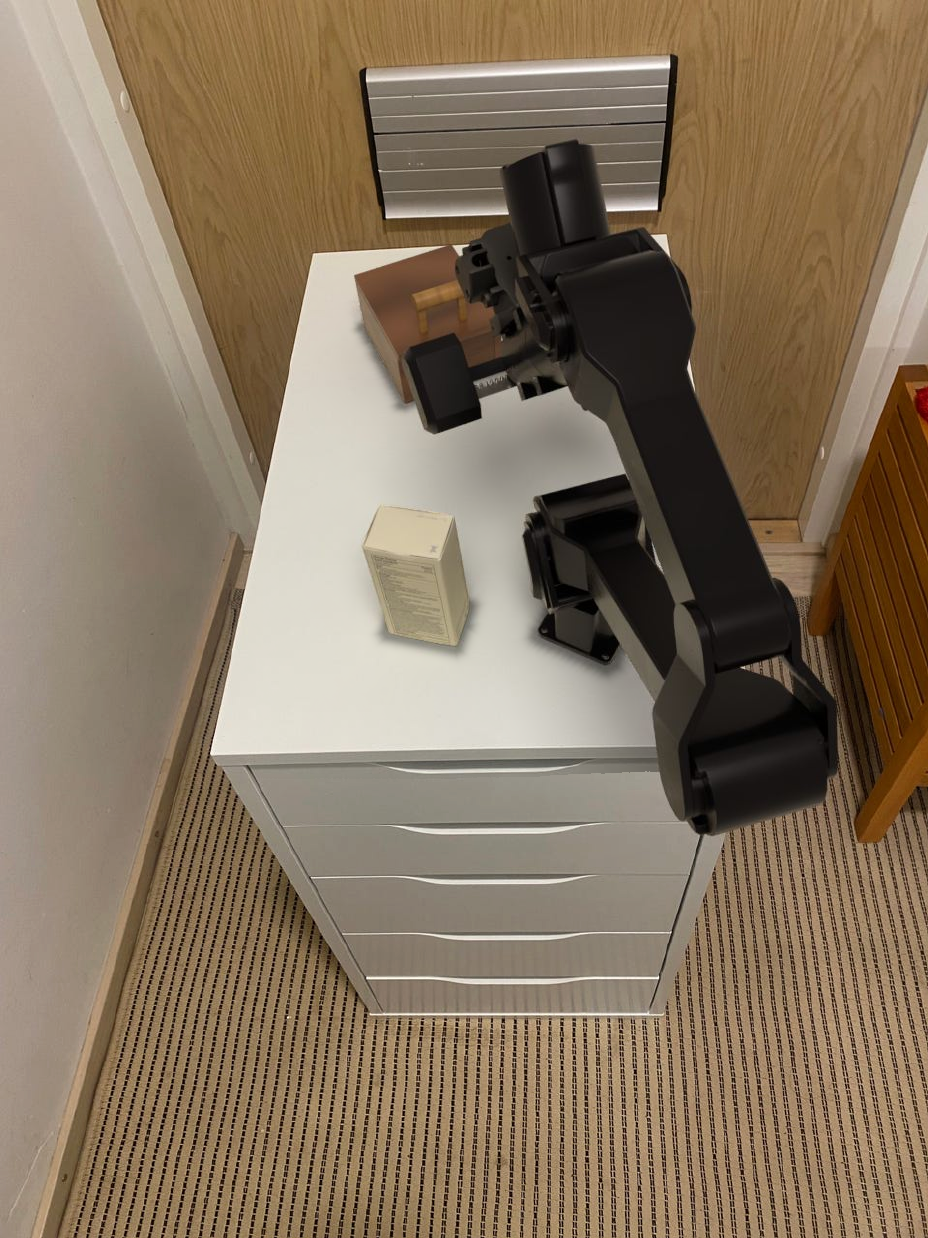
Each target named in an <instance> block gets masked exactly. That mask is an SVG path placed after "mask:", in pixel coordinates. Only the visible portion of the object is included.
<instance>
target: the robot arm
mask: <svg viewBox="0 0 928 1238" xmlns="http://www.w3.org/2000/svg"><path fill="white" fill-rule="evenodd" d="M499 176H500V181H501V186H502V189H503V195H504V199H505V203H506V209H507V213H508V217H509V222H508V223H505V224H502V225H498V226H495V227H491V228H489V229H487V230H486V231H484V232H483V233H482V235H481V237H479V238H475V239H473V240H470V241H469V243H468V245H467V246H463V247H462V248H461V253H462V255H459V257H457V259H456V262H455V274H456V278H457V280H458V282H459V285H460V287H461V289H462V292H463V294H464V297H465V299H466V301H467V302H468V303H470V304H473V303H476V302H482V303H483V304H484V306H485V308H490V307H493V310H494V314H495V316H493V317H492V318H490V319H489V321H490V324H491V328H492V331H493V334H494V336H495V337H498V336H501V347H500V354H501V357H499V358H496V359H493V360H490V361H487V362H484V363H481V364H478V365H475V366H472V367H468V364H467V360H466V357H465V354H464V351H463V348H462V345H461V343H460V341H459V339H458V338H457V336H456V335H455V333H451V334H448V335H445V336H442V337H439V338H435V339H432V340H429V341H426V342H423V343H420V344H417V345H414V346H411V347H409V348H408V349H407V350H406V351H405V353H404V355H403V357H402V359H401V363H402V366H403V369H404V372H405V375H406V378H407V381H408V384H409V387H410V389H411V392H412V395H413V398H414V401H413V402H414V405H415V407H416V410H417V414H418V417H419V419H420V422H421V425H422V428H423V430H424V431H426V432H428V433H429V434H431V435H438V434H441V433H444V432H446V431H450V430H452V429H455V428H458V427H461V426H465V425H467V424H470V423H473V422H476V421H479V420H481V419H483V414H482V404H481V399H484V398H487V397H489V396H493V395H495V394H498V393H502V392H504V391H507V390H510V389H513V388H515V387H517V391H518V394H519V397H520V400H521V402H523V401H527V400H531V399H533V398H535V397H540V396H541V397H542V396H544V395H547V394H549V393H552V392H556V391H558V390H561V389H564V388H567V387H568V390H569V392H570V394H571V397H572V399H573V401H574V402H575V403H577V404H578V405H579V406H580V408H581V409H582V411H584V412H590V413H591V414H592V415H594V416H595V417H597V418H598V419H600V420H601V421H602V422H604V423H605V424H606V426H607V428H608V431H609V433H610V435H611V437H612V440H613V442H614V445H615V447H616V450H617V452H618V455H619V458H620V460H621V463H622V466H623V469H624V472H625V473H622V474H617V475H613V476H610V477H605V478H601V479H599V480H598V479H597V480H593V481H589V482H586V483H582V484H578V485H575V486H570V487H566V488H563V489H559V490H555V491H551V492H550V491H549V492H547V493H543V494H539V495H535V496H534V497H533V498H532V504H533V508H534V509H535V511H534V512H529V513H526V514H525V515H524V517H525V518H524V520H525V521H523V527H524V532H523V533H522V535H521V540H522V544H523V549H524V554H525V559H526V565H527V569H528V572H529V580H530V592H531V595H532V597H533V598H534V599H537V600H540V601H541V602H542V603H543V604H544V606H545V608H546V610H547V611H548V612H547V614H546V615H545V617H544V619H543V620H542V622H541V623H540V624H539V627H538V629H537V634H538V636H539V637H540V638H541V639H544V640H546V641H549V642H551V643H553V644H556V645H558V646H559V647H563V648H565V649H568V650H569V651H572V652H574V653H576V654H578V655H581V656H582V657H585V658H588V659H590V660H593V661H594V662H597V663H598V664H599V663H600V664H601V665H605V666H606V665H609V664H611V663H612V661H613V659H614V658H615V656H616V654H617V653H618V651H619V648H620V647H622V649H623V651H624V653H625V654H626V656H627V658H628V659H629V661H630V663H631V665H632V666H633V668H634V669H635V672H636V673H637V675H638V677H639V678H640V680H641V681H642V683H643V684H644V686H645V688H646V689H647V692H648V693H649V695H650V696H651V698H652V700H653V701H654V704H653V706H652V711H651V716H652V723H653V724H652V725H653V733H654V739H655V748H656V754H657V763H658V771H659V775H660V776H659V777H660V781H661V785H662V788H663V791H664V795H665V797H666V799H667V802H668V804H669V808H670V809H671V811H672V812H673V814H674V816H675V817H676V818H677V820H678V821H680V822H687V824H688V825H689V827H690V828H691V830H692V831H693V832H694V833H695V834H697V835H698V836H704V835H707V836H709V837H714V836H719V835H722V834H725V833H729V832H733V831H736V830H739V829H742V828H746V827H749V826H753V825H757V824H760V823H763V822H766V821H770V820H774V819H777V818H781V817H784V816H787V815H791V814H795V813H797V812H801V811H805V810H808V809H811V808H814V807H818V806H820V805H822V804H823V803H824V802H825V801H826V797H827V793H828V780H833V779H834V778H835V777H836V776H837V775H838V771H839V770H838V769H839V739H838V738H839V737H838V736H839V735H838V705H837V702H836V698H834V696H833V695H832V694H831V692H830V691H829V690H828V689H827V688H826V686H825V685H824V684H823V683H822V682H821V680H820V679H819V678H818V677H817V675H816V674H815V673H814V672H813V671H812V669H811V668H810V667H809V665H808V664H807V663H806V662H805V661H804V659H803V645H802V642H803V641H802V626H801V618H800V612H799V610H798V606H797V604H796V601H795V598H794V596H793V595H792V593H791V591H790V589H789V586H787V585H786V584H785V583H784V582H783V580H782V579H779V578H777V577H772V573H771V571H770V570H769V566H768V564H767V562H766V559H765V557H764V555H763V552H762V550H761V547H760V545H759V543H758V541H757V537H756V535H755V533H754V531H753V528H752V526H751V523H750V521H749V518H748V516H747V514H746V511H745V509H744V506H743V504H742V501H741V499H740V496H739V494H738V492H737V490H736V487H735V485H734V482H733V480H732V478H731V476H730V472H729V470H728V468H727V465H726V463H725V461H724V458H723V456H722V453H721V452H720V451H721V450H720V448H719V446H718V444H717V441H716V439H715V436H714V434H713V431H712V429H711V427H710V425H709V422H708V420H707V417H706V414H705V413H704V410H703V407H702V405H701V402H700V400H699V397H698V395H697V393H696V391H695V387H694V385H693V382H692V381H693V380H692V379H691V376H690V374H689V370H688V367H689V363H690V358H691V354H692V350H693V346H694V340H695V337H696V331H697V327H696V322H695V319H694V317H693V304H692V296H691V291H690V287H689V283H688V281H687V277H686V276H685V273H683V271H682V269H681V268H680V267H679V266H678V265H677V264H676V262H675V261H674V260H673V259H672V258H671V256H670V255H669V254H668V253H667V251H665V250H664V249H663V247H662V246H661V245H660V244H659V242H657V240H656V239H655V238H654V237H653V235H651V233H650V232H649V231H648V230H647V228H646V227H645V226H641V227H636V228H632V229H628V230H627V229H626V230H624V231H623V230H622V231H619V232H615V233H612V231H611V225H610V220H609V217H608V216H609V215H608V211H607V207H606V201H605V196H604V191H603V187H602V186H603V185H602V182H601V181H602V180H601V176H600V171H599V166H598V161H597V156H596V152H595V147H594V145H591V144H588V143H580V142H579V140H578V139H577V138H574V139H570V140H566V141H561V142H557V143H552V144H548V145H544V147H543V149H542V150H541V151H539V152H536V153H533V154H530V155H528V156H525V157H523V158H521V159H518V160H517V161H515V162H512V163H509V164H508V163H507V164H505V165H503V166H501V167H500V169H499ZM504 372H505V373H506V374H504V376H503V375H500V376H499V378H498V377H495V378H494V380H493V379H490V380H489V382H488V380H485V379H487V378H489V377H492V376H495V375H498V374H501V373H504ZM483 379H484V380H485V381H484V383H483V382H480V383H479V385H478V384H475V382H478V381H481V380H483ZM655 554H656V557H657V559H658V562H659V565H660V567H659V565H658V564H657V561H656V557H655ZM543 631H546V632H543ZM605 657H606V658H607V659H606V658H605ZM777 658H778V659H779V660H780V661H781V662H782V664H783V665H784V666H785V667H786V668H787V669H788V670H789V672H790V673H791V677H792V692H791V690H789V689H788V688H787V687H786V686H785V685H784V684H783V682H781V681H780V680H778V679H776V678H774V677H771V676H767V675H765V674H762V673H758V672H755V671H752V670H749V669H746V668H743V667H747V666H751V665H754V664H758V663H761V662H765V661H768V660H769V661H770V660H772V659H777Z"/></svg>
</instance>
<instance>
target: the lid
mask: <svg viewBox="0 0 928 1238" xmlns="http://www.w3.org/2000/svg"><path fill="white" fill-rule="evenodd" d="M459 256H460V255H459V253H458V252H457V250H456V248H455V247H454V246H453V244H452V243H451V244H448V245H445V246H441V247H438V248H435V249H432V250H428V251H425V252H421V253H419V254H416V255H413V256H411V257H407V258H403V259H400V260H397V261H394V262H390V263H387V264H385V265H382V266H379V267H375V268H372V269H369V270H366V271H363V272H359V273H355V274H354V275H353V279H354V282H355V285H356V284H357V286H358V288H359V290H360V291H361V293H362V295H363V297H364V299H365V300H366V302H367V304H368V306H369V308H370V309H371V311H372V313H373V315H374V317H375V318H376V320H377V322H378V324H379V326H380V328H381V329H382V331H383V333H384V335H385V337H386V338H387V340H388V342H389V344H390V346H391V347H392V349H393V351H394V353H395V355H396V357H397V358H398V360H399V362H400V361H401V359H402V357H403V355H404V353H405V351H406V350H407V349H408V348H409V347H411V346H414V345H417V344H420V343H423V342H426V341H429V340H432V339H435V338H439V337H442V336H445V335H448V334H451V333H455V335H456V336H457V338H458V339H459V341H463V340H466V339H469V338H472V337H475V336H478V335H481V334H484V333H487V332H490V331H492V328H491V324H490V321H489V319H490V318H492V317H493V316H495V314H494V310H493V307H490V308H485V306H484V304H483V303H482V302H476V303H473V304H470V303H468V302H467V301H466V299H465V297H464V294H463V292H462V289H461V287H460V285H459V282H458V280H457V278H456V274H455V262H456V259H457V257H459Z"/></svg>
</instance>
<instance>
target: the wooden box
mask: <svg viewBox="0 0 928 1238" xmlns="http://www.w3.org/2000/svg"><path fill="white" fill-rule="evenodd" d="M355 287H356V293H357V298H358V303H359V308H360V313H361V319H362V323H363V327H364V330H365V332H366V334H367V335H368V337H369V340H370V341H371V343H372V345H373V346H374V348H375V351H376V352H377V354H378V356H379V358H380V360H381V361H382V363H383V365H384V367H385V369H386V371H387V372H388V374H389V377H390V378H391V379H392V382H393V384H394V386H395V388H396V390H397V391H398V393H399V395H400V397H401V399H402V401H403V403H404V404H408V403H411V402H415V401H414V398H413V395H412V392H411V389H410V387H409V384H408V381H407V378H406V375H405V372H404V369H403V366H402V363H401V361H400V362H399V360H398V358H397V357H396V355H395V353H394V351H393V349H392V347H391V346H390V344H389V342H388V340H387V338H386V337H385V335H384V333H383V331H382V329H381V328H380V326H379V324H378V322H377V320H376V318H375V317H374V315H373V313H372V311H371V309H370V308H369V306H368V304H367V302H366V300H365V299H364V297H363V295H362V293H361V291H360V290H359V288H358V286H357V284H356V283H355ZM501 341H502V337H501V336H498V337H495V336H494V334H493V331H490V332H487V333H484V334H481V335H478V336H475V337H472V338H469V339H466V340H463V341H460V343H461V345H462V348H463V351H464V354H465V357H466V360H467V364H468V367H472V366H475V365H478V364H481V363H484V362H487V361H490V360H493V359H496V358H499V357H501V354H500V347H501Z"/></svg>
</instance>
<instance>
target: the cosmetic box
mask: <svg viewBox="0 0 928 1238" xmlns="http://www.w3.org/2000/svg"><path fill="white" fill-rule="evenodd" d="M361 548H362V551H363V554H364V557H365V561H366V564H367V568H368V570H369V573H370V577H371V580H372V583H373V587H374V589H375V593H376V596H377V599H378V603H379V606H380V609H381V612H382V615H383V618H384V621H385V624H386V629H387V631H388V633H389V634H390V635H395V636H400V637H405V638H410V639H414V640H420V641H425V642H430V643H434V644H435V643H436V644H440V645H445V646H447V645H448V646H452V647H457V646H458V644H459V641H460V640H461V636H462V633H463V630H464V627H465V625H466V620H467V617H468V614H469V610H470V607H471V605H470V599H469V592H468V586H467V581H466V575H465V568H464V563H463V558H462V557H463V556H462V551H461V546H460V541H459V534H458V529H457V523H456V518H455V516H454V515H452V514H447V513H443V512H436V511H429V510H424V509H418V508H417V509H416V508H410V507H405V506H397V505H388V504H379V505H378V507H377V509H376V511H375V513H374V516H373V518H372V520H371V522H370V525H369V527H368V529H367V531H366V534H365V536H364V539H363V541H362V544H361Z"/></svg>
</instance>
